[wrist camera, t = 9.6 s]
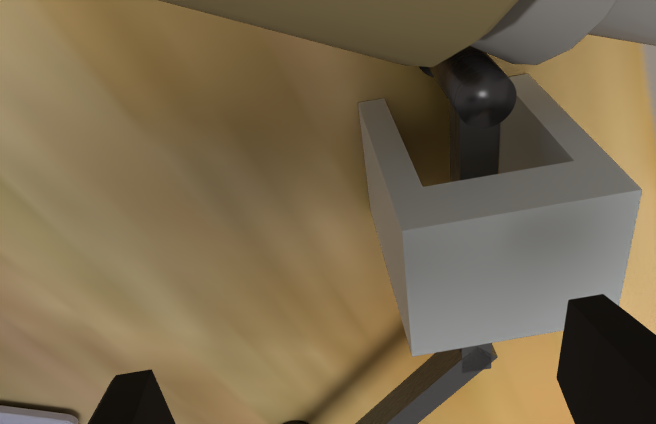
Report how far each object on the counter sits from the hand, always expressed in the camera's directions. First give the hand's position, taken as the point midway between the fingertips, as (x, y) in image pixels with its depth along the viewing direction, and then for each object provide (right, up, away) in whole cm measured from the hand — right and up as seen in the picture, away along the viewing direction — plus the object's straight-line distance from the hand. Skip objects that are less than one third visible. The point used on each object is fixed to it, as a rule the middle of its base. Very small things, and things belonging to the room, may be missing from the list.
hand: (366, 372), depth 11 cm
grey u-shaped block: (+3, +5, +9) cm, 10 cm away
